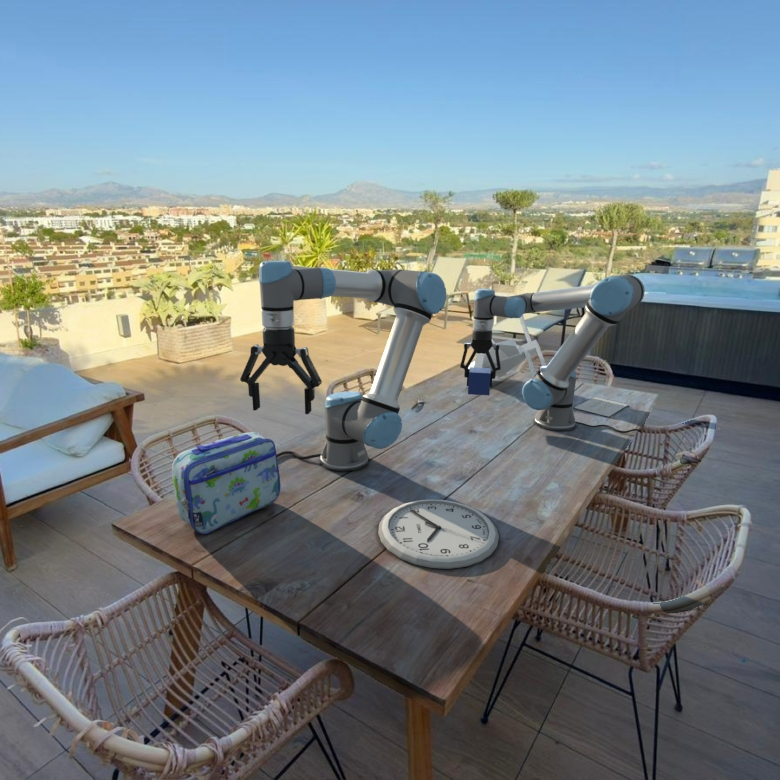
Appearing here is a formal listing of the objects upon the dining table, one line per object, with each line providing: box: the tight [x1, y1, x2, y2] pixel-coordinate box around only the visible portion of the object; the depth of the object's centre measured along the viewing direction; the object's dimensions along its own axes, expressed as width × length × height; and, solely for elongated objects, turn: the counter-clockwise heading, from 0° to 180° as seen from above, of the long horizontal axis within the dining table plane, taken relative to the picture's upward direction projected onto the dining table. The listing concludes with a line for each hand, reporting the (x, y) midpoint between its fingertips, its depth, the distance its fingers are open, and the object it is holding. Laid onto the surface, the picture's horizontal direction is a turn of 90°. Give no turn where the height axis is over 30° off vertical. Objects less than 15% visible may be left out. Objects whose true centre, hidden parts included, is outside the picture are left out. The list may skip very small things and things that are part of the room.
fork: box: [411, 395, 426, 410], centre depth 224 cm, size 3×16×2 cm, turn 160°
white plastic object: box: [468, 314, 547, 379], centre depth 255 cm, size 37×45×31 cm
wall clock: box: [377, 498, 500, 570], centre depth 131 cm, size 30×2×30 cm
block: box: [467, 367, 491, 396], centre depth 208 cm, size 8×9×9 cm
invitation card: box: [573, 396, 629, 418], centre depth 226 cm, size 21×1×15 cm
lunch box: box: [171, 431, 281, 535], centre depth 134 cm, size 26×11×21 cm, turn 134°
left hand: (282, 410), depth 132 cm, fingers open, 13 cm apart
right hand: (479, 385), depth 209 cm, fingers closed on block, 8 cm apart
